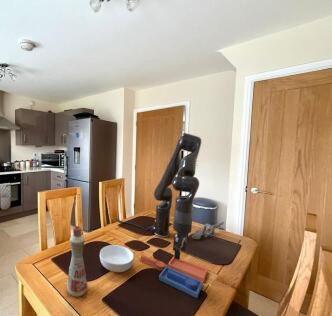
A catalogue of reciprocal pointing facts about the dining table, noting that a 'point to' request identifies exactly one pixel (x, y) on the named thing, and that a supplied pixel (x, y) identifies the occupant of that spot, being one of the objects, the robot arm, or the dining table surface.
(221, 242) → the dining table surface
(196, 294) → the blue tray
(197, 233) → the spaceship
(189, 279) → the blue spoon
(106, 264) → the cereal bowl
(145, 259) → the terracotta spoon
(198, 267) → the terracotta tray
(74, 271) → the bottle
